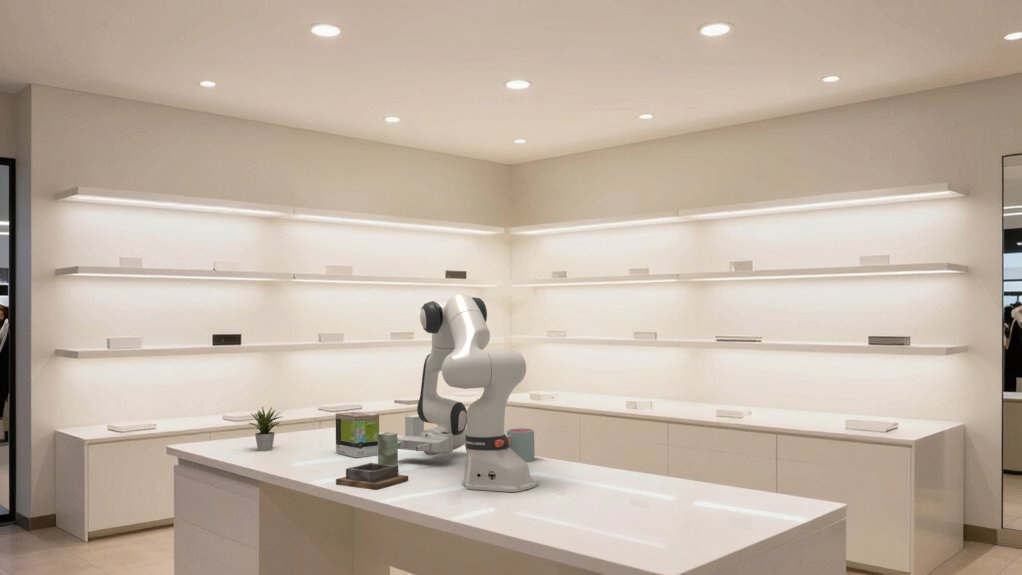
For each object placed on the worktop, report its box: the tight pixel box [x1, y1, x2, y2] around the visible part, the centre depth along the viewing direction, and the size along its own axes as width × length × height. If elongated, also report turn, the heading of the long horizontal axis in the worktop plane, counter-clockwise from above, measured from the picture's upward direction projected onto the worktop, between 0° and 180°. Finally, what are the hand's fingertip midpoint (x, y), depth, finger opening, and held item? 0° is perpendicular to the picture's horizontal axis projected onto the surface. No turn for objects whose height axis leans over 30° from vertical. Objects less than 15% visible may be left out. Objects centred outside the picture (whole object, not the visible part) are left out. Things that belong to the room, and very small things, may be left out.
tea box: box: [335, 411, 380, 459], centre depth 300 cm, size 15×10×15 cm, turn 40°
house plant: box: [248, 406, 285, 452], centre depth 312 cm, size 14×14×16 cm
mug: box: [505, 427, 536, 463], centre depth 281 cm, size 14×9×10 cm
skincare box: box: [404, 414, 425, 437], centre depth 311 cm, size 6×4×12 cm
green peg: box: [377, 432, 399, 467], centre depth 266 cm, size 4×4×12 cm
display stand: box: [335, 462, 409, 491], centre depth 249 cm, size 16×14×4 cm
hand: (406, 447), depth 273 cm, fingers open, 8 cm apart
